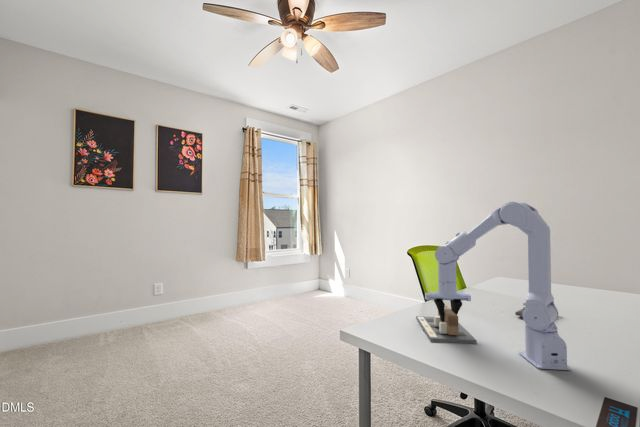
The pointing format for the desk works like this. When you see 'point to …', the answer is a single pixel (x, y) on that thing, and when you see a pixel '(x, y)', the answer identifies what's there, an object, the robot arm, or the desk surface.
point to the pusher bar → (450, 321)
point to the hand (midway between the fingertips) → (447, 321)
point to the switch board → (436, 336)
